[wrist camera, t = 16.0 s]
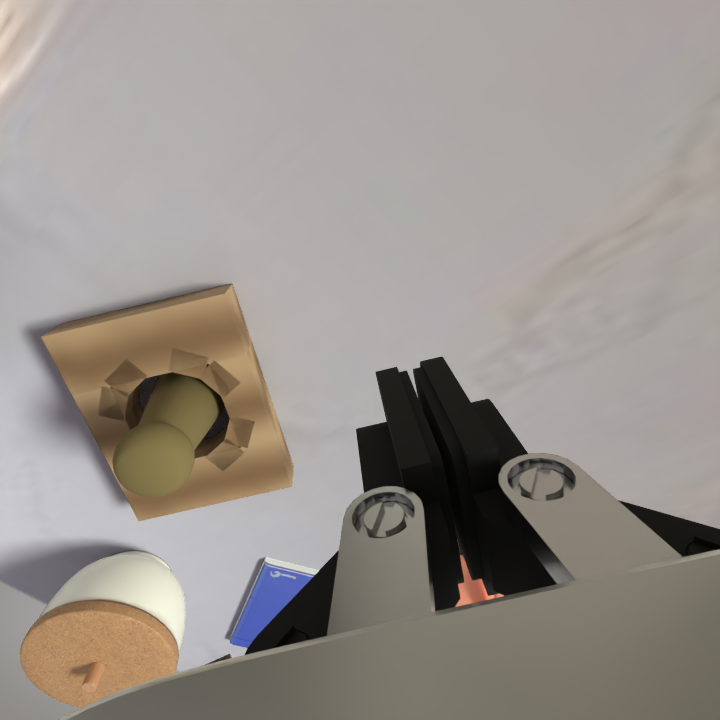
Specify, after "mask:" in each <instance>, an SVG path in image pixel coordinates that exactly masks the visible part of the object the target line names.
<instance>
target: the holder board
mask: <svg viewBox="0 0 720 720" xmlns="http://www.w3.org/2000/svg"><path fill="white" fill-rule="evenodd" d="M41 338H42V340H43V342H44V343H45V345H46V347H47V349H48V351H49V353H50V355H51V357H52V359H53V360H54V362H55V364H56V366H57V368H58V370H59V372H60V374H61V376H62V377H63V379H64V381H65V383H66V385H67V387H68V389H69V391H70V392H71V394H72V396H73V398H74V400H75V402H76V404H77V406H78V408H79V409H80V411H81V413H82V415H83V417H84V419H85V421H86V423H87V425H88V426H89V428H90V430H91V432H92V434H93V436H94V438H95V440H96V442H97V443H98V445H99V447H100V449H101V451H102V453H103V455H104V457H105V458H106V460H107V462H108V464H109V466H110V468H111V470H112V472H113V474H114V475H115V473H114V470H113V463H112V459H113V455H114V451H115V448H116V445H117V444H118V442H119V441H120V440H121V439H122V437H123V436H124V435H125V434H126V433H127V432H128V431H130V430H131V429H133V428H135V427H136V426H138V425H139V423H140V420H141V418H142V415H143V413H144V412H143V410H142V408H141V406H140V404H139V402H138V398H139V392H140V386H141V382H142V381H143V380H144V379H145V378H149V377H153V376H157V375H162V374H166V373H170V372H174V373H178V374H182V375H186V376H191V377H195V378H199V379H201V380H202V381H203V382H205V383H206V384H207V385H208V386H209V387H211V388H212V389H213V390H214V391H216V392H217V393H218V394H219V395H220V396H221V397H222V400H223V402H224V405H225V407H226V410H227V413H228V415H229V418H230V420H229V424H228V425H227V426H226V427H225V428H224V429H222V430H221V431H220V432H219V433H218V434H217V435H216V436H214V437H210V438H206V439H202V441H201V442H200V443H199V445H198V446H197V448H196V449H195V450H194V452H195V464H194V466H193V469H192V472H191V474H190V477H189V478H188V479H187V480H186V482H185V483H184V484H183V485H182V486H181V487H180V488H179V489H177V490H176V491H174V492H172V493H170V494H167V495H164V496H159V497H144V496H140V495H137V494H134V493H132V492H131V491H129V490H127V489H126V488H125V487H124V486H123V485H122V484H121V483H120V482H119V481H118V479H117V477H116V475H115V477H116V479H117V481H118V483H119V485H120V487H121V489H122V491H123V492H124V494H125V496H126V498H127V500H128V502H129V504H130V506H131V507H132V509H133V511H134V513H135V515H136V517H137V519H138V521H142V520H146V519H151V518H155V517H160V516H164V515H168V514H173V513H177V512H182V511H186V510H191V509H195V508H199V507H204V506H208V505H213V504H217V503H221V502H226V501H230V500H235V499H239V498H243V497H248V496H252V495H257V494H261V493H266V492H270V491H274V490H279V489H283V488H288V487H292V477H293V467H294V466H293V463H292V460H291V457H290V454H289V451H288V448H287V445H286V442H285V439H284V436H283V433H282V430H281V427H280V425H279V422H278V419H277V416H276V413H275V410H274V407H273V404H272V401H271V398H270V395H269V392H268V389H267V386H266V383H265V380H264V377H263V374H262V371H261V368H260V365H259V362H258V359H257V356H256V353H255V350H254V347H253V344H252V341H251V338H250V335H249V332H248V329H247V326H246V323H245V320H244V317H243V314H242V311H241V308H240V305H239V302H238V299H237V296H236V293H235V290H234V287H233V285H232V284H229V285H225V286H220V287H216V288H212V289H208V290H203V291H199V292H195V293H191V294H186V295H182V296H178V297H174V298H169V299H165V300H161V301H157V302H152V303H148V304H144V305H140V306H135V307H131V308H127V309H122V310H118V311H114V312H110V313H105V314H101V315H97V316H93V317H88V318H84V319H80V320H76V321H71V322H67V323H63V324H61V325H59V326H57V327H56V328H54V329H53V330H51V331H49V332H48V333H46V334H45V335H43V336H41Z"/></svg>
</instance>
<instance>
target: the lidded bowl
mask: <svg viewBox="0 0 720 720" xmlns="http://www.w3.org/2000/svg"><path fill="white" fill-rule="evenodd" d="M185 621H186V603H185V597H184V593H183V590H182V587H181V585H180V583H179V581H178V579H177V578H176V576H175V575H174V574H173V573H172V571H171V569H170V567H169V566H168V565H167V563H165V562H164V561H163V560H162V559H160V558H159V557H157V556H155V555H153V554H150V553H146V552H142V551H125V552H121V553H118V554H115V555H113V556H109V557H105V558H102V559H100V560H97V561H95V562H93V563H91V564H89V565H87V566H86V567H84V568H83V569H81V570H80V571H79V572H77V573H76V574H75V575H74V576H72V577H71V578H70V579H69V580H68V581H67V582H66V583H65V584H64V585H63V586H62V587H61V588H60V590H59V591H58V592H57V593H56V595H55V596H54V597H53V598H52V599H51V601H50V602H49V603H48V605H47V606H46V608H45V609H44V611H43V612H42V614H41V615H40V617H39V619H38V620H37V621H36V622H35V623H34V624H33V626H32V627H31V628H30V630H29V631H28V633H27V635H26V636H25V638H24V640H23V642H22V645H21V649H20V662H21V665H22V668H23V670H24V672H25V674H26V676H27V678H28V679H29V680H30V681H31V682H32V683H33V684H34V685H35V686H36V687H37V688H38V689H39V690H40V691H42V692H43V693H45V694H47V695H48V696H50V697H52V698H54V699H56V700H58V701H60V702H63V703H66V704H69V705H72V706H76V707H80V708H82V707H84V706H86V705H88V704H91V703H93V702H95V701H97V700H99V699H101V698H104V697H106V696H108V695H110V694H113V693H116V692H118V691H121V690H124V689H127V688H129V687H132V686H135V685H138V684H141V683H143V682H146V681H149V680H152V679H155V678H159V677H163V676H167V675H170V674H174V673H175V671H176V668H177V664H178V658H179V651H180V648H181V644H182V640H183V635H184V628H185Z"/></svg>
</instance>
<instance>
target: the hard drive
mask: <svg viewBox="0 0 720 720" xmlns="http://www.w3.org/2000/svg"><path fill="white" fill-rule="evenodd" d="M318 571H319V570H316V569H312V568H308V567H304V566H300V565H296V564H292V563H288V562H284V561H280V560H276V559H272V558H268V557H265V559H264V562H263V564H262V566H261V568H260V571H259V573H258V575H257V578H256V580H255V582H254V584H253V587H252V589H251V591H250V593H249V596H248V598H247V600H246V602H245V605H244V607H243V609H242V612H241V614H240V616H239V618H238V621H237V623H236V625H235V627H234V630H233V632H232V634H231V637H230V643H231V644H233V645H237V646H242V647H247V648H248V647H249V646H250V644H251V643H252V642H253V640H254V639H255V638H256V636H257V635H258V634H259V633H260V632H261V631H262V630H263V629H264V628H265V627H266V626H267V625H268V623H269V622H270V621H271V620H272V619H273V618H274V617H275V616H276V615H277V614H278V613H279V612H280V611H281V610H282V609H283V608H284V607H285V606H286V605H287V604H288V603H289V602H290V601H291V599H292V598H293V597H294V596H295V595H296V594H297V593H298V592H299V591H300V590H301V589H302V588H303V587H304V586H305V585H306V584H307V583H308V582H309V581H310V580H311V579H312V578H313V577H314V575H315V574H316V573H317V572H318Z"/></svg>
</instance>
